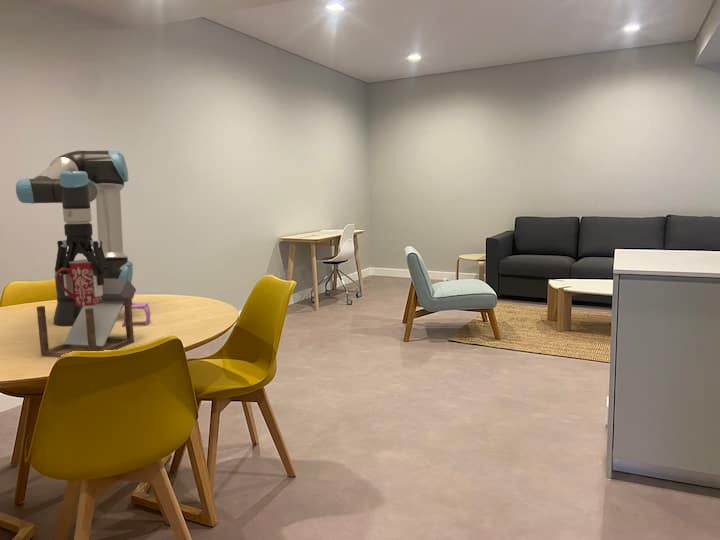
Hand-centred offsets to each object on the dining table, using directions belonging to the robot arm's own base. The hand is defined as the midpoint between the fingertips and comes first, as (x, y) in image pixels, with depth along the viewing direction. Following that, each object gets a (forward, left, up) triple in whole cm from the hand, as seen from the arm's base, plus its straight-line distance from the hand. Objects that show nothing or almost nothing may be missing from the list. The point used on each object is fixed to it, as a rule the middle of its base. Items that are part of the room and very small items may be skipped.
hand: (84, 295), depth 167 cm
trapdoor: (0, +8, -9) cm, 12 cm away
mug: (0, 0, -3) cm, 3 cm away
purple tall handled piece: (-5, +32, -17) cm, 37 cm away
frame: (0, +1, -17) cm, 17 cm away
